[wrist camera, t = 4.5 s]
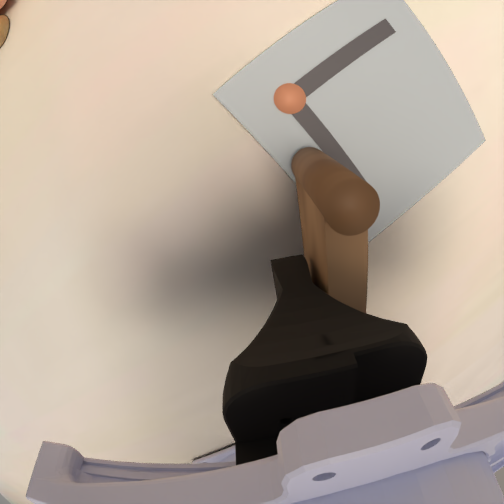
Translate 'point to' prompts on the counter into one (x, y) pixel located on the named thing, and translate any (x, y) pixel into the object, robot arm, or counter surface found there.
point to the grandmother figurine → (3, 24)
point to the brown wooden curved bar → (335, 224)
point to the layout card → (360, 101)
